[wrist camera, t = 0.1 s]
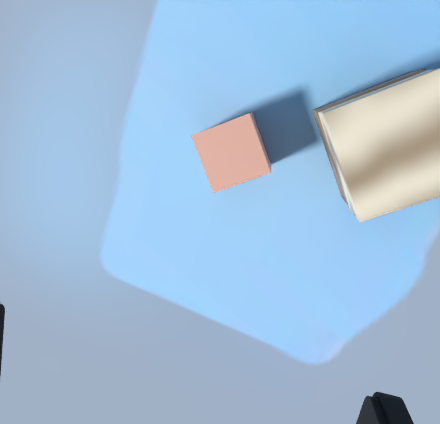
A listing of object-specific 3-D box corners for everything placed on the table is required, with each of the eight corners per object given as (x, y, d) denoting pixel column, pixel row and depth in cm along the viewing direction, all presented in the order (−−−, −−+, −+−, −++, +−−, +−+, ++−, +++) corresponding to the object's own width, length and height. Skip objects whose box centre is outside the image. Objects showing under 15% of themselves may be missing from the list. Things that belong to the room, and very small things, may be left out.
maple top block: (317, 112, 39) (324, 113, 34) (425, 70, 37) (448, 65, 32) (349, 208, 41) (360, 222, 36) (454, 174, 39) (479, 183, 34)
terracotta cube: (201, 132, 46) (191, 135, 40) (252, 112, 44) (249, 112, 39) (220, 182, 47) (213, 192, 41) (271, 164, 46) (270, 172, 40)
